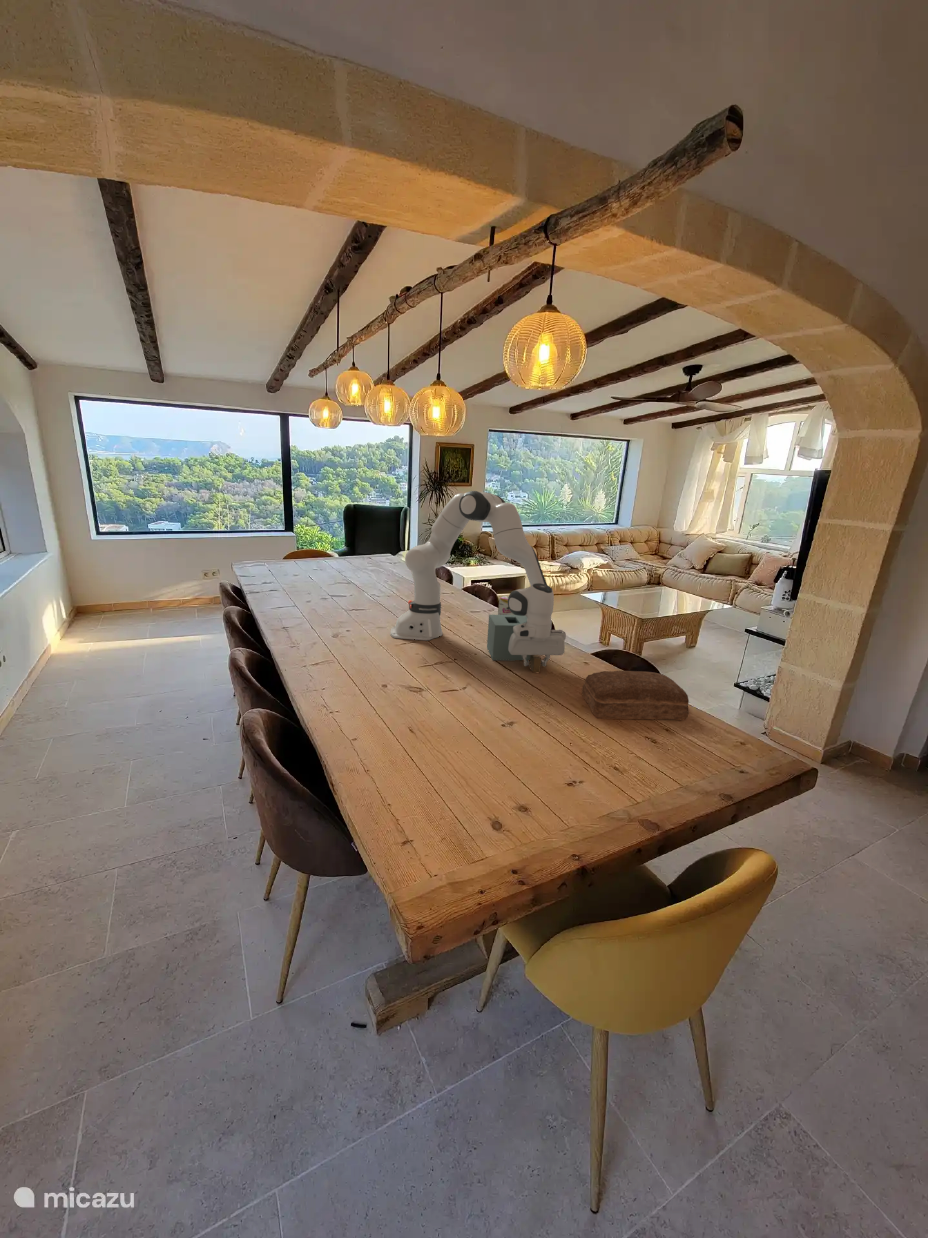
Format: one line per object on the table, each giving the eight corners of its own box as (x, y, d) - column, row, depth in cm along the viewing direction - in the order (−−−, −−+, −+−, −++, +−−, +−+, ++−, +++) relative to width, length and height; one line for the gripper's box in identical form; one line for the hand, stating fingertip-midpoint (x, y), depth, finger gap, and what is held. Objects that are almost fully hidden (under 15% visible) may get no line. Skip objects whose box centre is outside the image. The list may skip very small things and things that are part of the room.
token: (533, 672, 176) (534, 658, 175) (529, 667, 182) (530, 653, 180) (539, 672, 177) (541, 658, 175) (535, 667, 182) (537, 653, 180)
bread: (690, 723, 146) (697, 687, 143) (593, 720, 145) (598, 684, 141) (665, 697, 162) (671, 665, 159) (578, 695, 161) (582, 662, 158)
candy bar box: (496, 633, 218) (498, 597, 213) (501, 630, 222) (503, 595, 217) (518, 638, 212) (521, 602, 208) (523, 635, 216) (526, 599, 212)
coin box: (492, 660, 186) (495, 625, 182) (486, 647, 199) (489, 614, 195) (533, 660, 188) (537, 625, 184) (525, 647, 201) (528, 615, 197)
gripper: (563, 627, 179) (559, 662, 183) (508, 626, 177) (506, 662, 181) (569, 632, 173) (564, 669, 177) (512, 632, 171) (509, 668, 175)
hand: (534, 665), depth 179 cm, fingers open, 5 cm apart
